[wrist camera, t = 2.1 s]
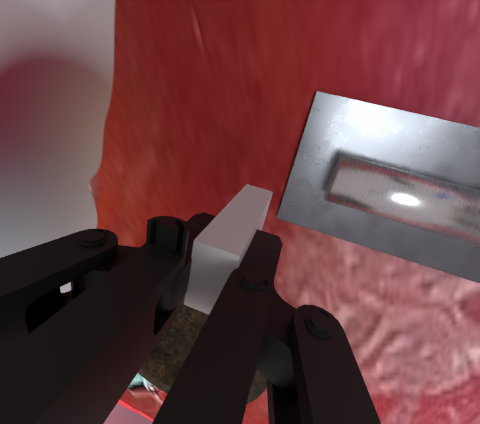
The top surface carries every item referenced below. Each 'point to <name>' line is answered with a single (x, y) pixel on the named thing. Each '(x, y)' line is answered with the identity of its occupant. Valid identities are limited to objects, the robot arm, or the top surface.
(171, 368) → the bowl
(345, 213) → the plate
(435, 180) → the tube
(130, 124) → the top surface
